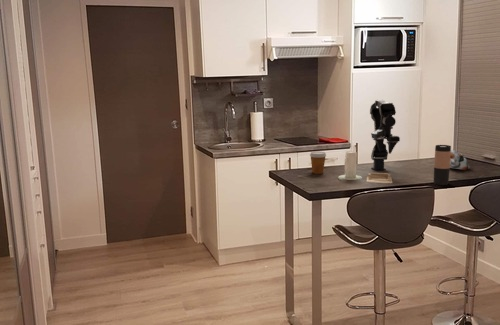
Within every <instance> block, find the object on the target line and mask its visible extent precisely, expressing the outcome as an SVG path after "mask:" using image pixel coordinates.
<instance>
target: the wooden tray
mask: <svg viewBox="0 0 500 325" xmlns="http://www.w3.org/2000/svg"><path fill="white" fill-rule="evenodd" d="M392 179H393V178H392V177H391V173H385V172H384V173H382V172H379V173H378V172H368V176H366V183H374V184H375V183H376V184H377V183H378V184H379V183H381V184H393V180H392Z"/></svg>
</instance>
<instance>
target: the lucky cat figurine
mask: <svg viewBox="0 0 500 325" xmlns="http://www.w3.org/2000/svg"><path fill="white" fill-rule="evenodd" d="M450 169H452V170H453V169H455V170H461V171H468V170H469V169H470V165H469V164H468V160H467V158H466V157H464V154H463V153H461V154H459V153H458V151H456V150H455V149H454V150H453V149H451V155H450Z"/></svg>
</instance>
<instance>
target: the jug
mask: <svg viewBox="0 0 500 325" xmlns="http://www.w3.org/2000/svg"><path fill="white" fill-rule="evenodd" d="M357 156H358V154H357V151H355V150H354V151H345V158H344V175H345V178H356V175H357V158H358V157H357Z"/></svg>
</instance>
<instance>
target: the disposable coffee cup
mask: <svg viewBox="0 0 500 325" xmlns="http://www.w3.org/2000/svg"><path fill="white" fill-rule="evenodd" d="M309 156H310V162H311V164H310V165H311V170H312V173H313V174H316V175H321V174H323V173H324V171H325V170H324V168H325V161H326V157H327V153H326V152H325V151H311V152H310V154H309Z"/></svg>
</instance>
